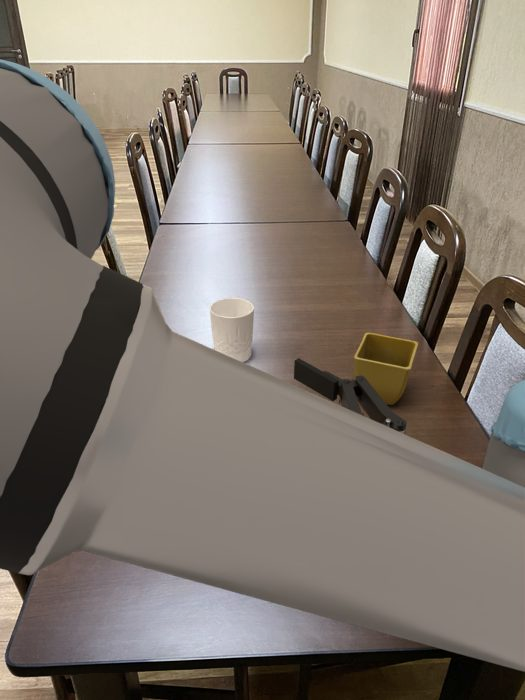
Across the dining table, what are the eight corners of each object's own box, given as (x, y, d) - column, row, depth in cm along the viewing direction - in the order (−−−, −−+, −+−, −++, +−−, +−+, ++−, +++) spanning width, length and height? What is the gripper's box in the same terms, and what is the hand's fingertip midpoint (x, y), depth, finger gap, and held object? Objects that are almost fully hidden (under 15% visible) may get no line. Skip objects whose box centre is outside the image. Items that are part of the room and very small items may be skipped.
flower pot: (402, 416, 85) (410, 368, 80) (348, 403, 88) (353, 357, 83) (410, 386, 92) (418, 341, 87) (360, 376, 95) (365, 331, 90)
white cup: (244, 370, 96) (243, 320, 91) (204, 361, 99) (202, 313, 93) (260, 349, 103) (260, 301, 97) (222, 341, 105) (220, 294, 100)
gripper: (314, 595, 44) (169, 462, 58) (469, 456, 59) (324, 376, 72) (320, 533, 41) (163, 406, 54) (484, 401, 55) (328, 327, 68)
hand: (255, 389), depth 63 cm, fingers open, 13 cm apart
